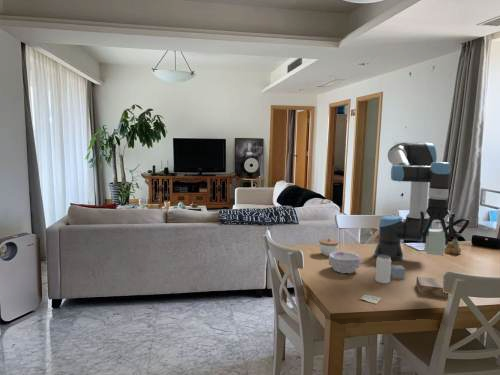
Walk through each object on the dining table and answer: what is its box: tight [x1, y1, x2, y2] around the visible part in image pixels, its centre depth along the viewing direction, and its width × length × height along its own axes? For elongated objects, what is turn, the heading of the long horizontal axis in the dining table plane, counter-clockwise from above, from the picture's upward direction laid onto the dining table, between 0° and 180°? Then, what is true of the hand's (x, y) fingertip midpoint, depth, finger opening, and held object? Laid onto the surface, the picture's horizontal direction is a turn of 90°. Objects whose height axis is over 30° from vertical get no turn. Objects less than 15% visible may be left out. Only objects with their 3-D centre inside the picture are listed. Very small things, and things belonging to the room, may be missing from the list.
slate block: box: [390, 264, 406, 280], centre depth 178 cm, size 5×5×5 cm
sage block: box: [425, 228, 445, 256], centre depth 160 cm, size 6×6×10 cm
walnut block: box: [415, 276, 450, 298], centre depth 161 cm, size 11×11×4 cm
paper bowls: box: [328, 251, 361, 274], centre depth 185 cm, size 15×15×8 cm
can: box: [374, 255, 392, 285], centre depth 171 cm, size 6×6×12 cm
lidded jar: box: [318, 238, 339, 256], centre depth 212 cm, size 11×11×9 cm
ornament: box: [444, 236, 462, 255], centre depth 219 cm, size 8×6×10 cm
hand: (434, 251), depth 160 cm, fingers closed on sage block, 6 cm apart
